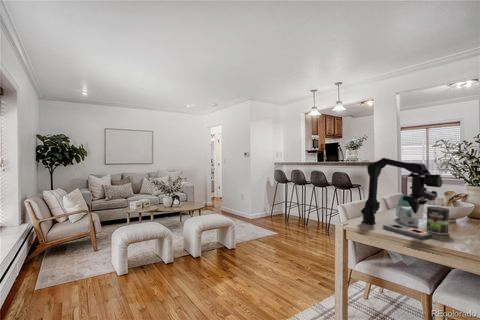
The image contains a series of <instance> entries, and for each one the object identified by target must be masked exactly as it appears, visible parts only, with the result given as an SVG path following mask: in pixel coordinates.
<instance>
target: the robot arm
mask: <svg viewBox="0 0 480 320" xmlns="http://www.w3.org/2000/svg"><path fill="white" fill-rule="evenodd" d="M386 166H391V167H395V168H400V169H404V170H407V171H408V172H410V173H409V174H408V175H407V177H409V178H411V186H409V189H411V193H409V194H404V195H405V196H403V201H407V202H408V203H409V205H410V207H411V208H412V210H413V212H414V213H417V207H418V204H423V205H424V206H425V204H426V203H428V202H429V201H430V202H433V201H435V200H436V198H438V192H437V191H436V190H432V191H429V190H427V189H428V188H427V187H433V188H442V186H443V179H442V176H441V174H431V172H430V171H429V170H428V168H427V165H426V164H425V163H422V162H408V161H403V160H398V159H393V158H389V157H382V158H381V159H379V160H376V161H375V162H372V163H369V164H368V165H367V166H366V167H367V168H366V171H367V175H368V176H369V181H368V182H369V183H368V196H367V199H366V201H365V203H364V207H363V208H362V209H361V210H360V213H361V215H362V221H361V223H362V224H367V225H374V224H377V222H376V216H375V215H376V214H377V212H378V211H379V209H380V204H381V202H380V201H378V199H377V197H378V196H377V195H378V181H379V177H380V175H381V174H382V173H381V172H382V169H384V168H385V167H386ZM425 186H426V187H425Z"/></svg>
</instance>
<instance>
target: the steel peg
mask: <svg viewBox="0 0 480 320" xmlns="http://www.w3.org/2000/svg"><path fill="white" fill-rule="evenodd" d="M424 207H425V204H424V205H423V204H418V207H417V213H414V212H413V210H412V213H411V218H415V219H418V220H423V219H424V210H425V209H424Z"/></svg>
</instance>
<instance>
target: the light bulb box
mask: <svg viewBox="0 0 480 320" xmlns="http://www.w3.org/2000/svg"><path fill="white" fill-rule="evenodd" d="M411 213H412V208H411V207H404V206H400V219H399V222H400V223H402V224H403V225H404V226H406V227H416V228H417V227H419V219H415V218H411Z"/></svg>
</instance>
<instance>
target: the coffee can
mask: <svg viewBox="0 0 480 320" xmlns="http://www.w3.org/2000/svg"><path fill="white" fill-rule="evenodd" d="M449 222H450V209H449V208H445V207H441V206H427V207H426V232H429V233H433V234H436V235H446V236H447V235H449V224H450V223H449Z"/></svg>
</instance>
